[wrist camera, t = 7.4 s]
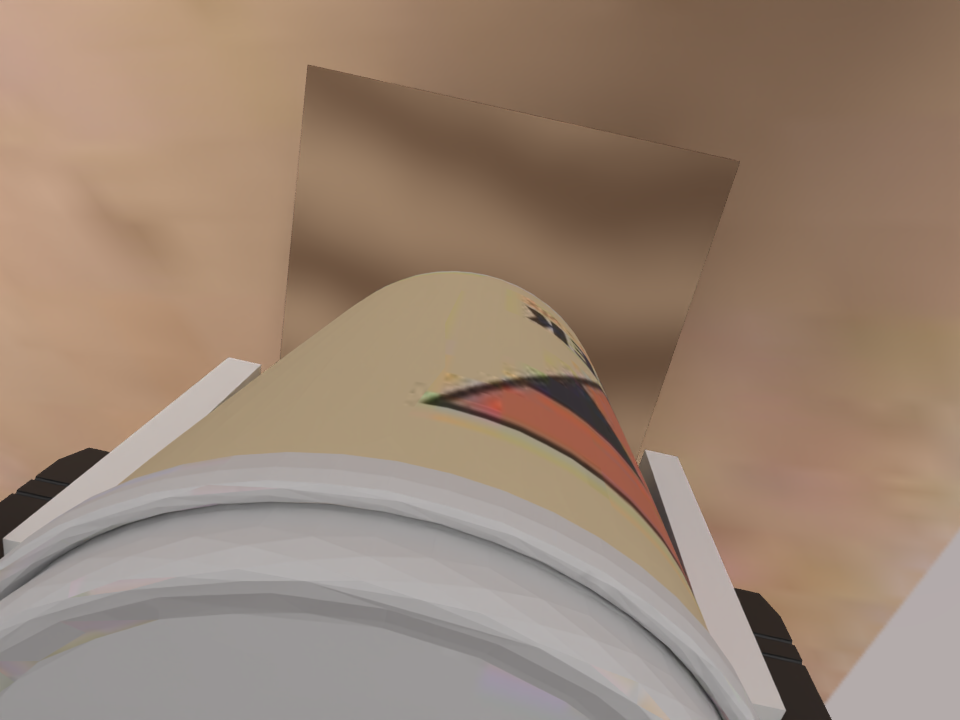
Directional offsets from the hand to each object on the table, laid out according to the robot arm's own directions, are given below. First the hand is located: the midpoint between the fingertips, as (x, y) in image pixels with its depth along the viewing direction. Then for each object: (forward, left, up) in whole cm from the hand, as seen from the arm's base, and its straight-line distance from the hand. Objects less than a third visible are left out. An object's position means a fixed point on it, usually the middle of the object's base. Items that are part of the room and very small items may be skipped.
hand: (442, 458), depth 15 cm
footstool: (0, 0, -16) cm, 16 cm away
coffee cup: (0, 0, -3) cm, 3 cm away
